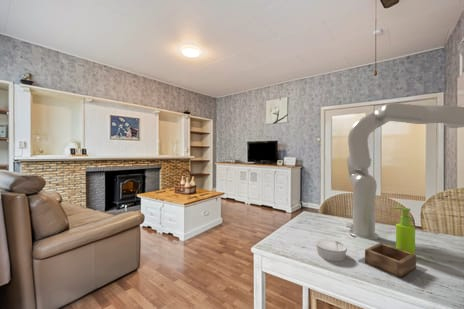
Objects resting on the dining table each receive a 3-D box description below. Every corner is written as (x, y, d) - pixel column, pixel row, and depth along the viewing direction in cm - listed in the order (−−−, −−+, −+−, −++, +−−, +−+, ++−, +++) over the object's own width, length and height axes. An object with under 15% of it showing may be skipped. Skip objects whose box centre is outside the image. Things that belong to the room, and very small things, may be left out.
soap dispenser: (393, 251, 89) (394, 205, 89) (415, 257, 84) (416, 208, 84) (391, 256, 85) (391, 207, 85) (413, 263, 80) (414, 211, 80)
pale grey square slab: (357, 263, 80) (357, 260, 80) (377, 253, 88) (377, 251, 88) (409, 286, 67) (409, 283, 67) (427, 272, 74) (427, 269, 74)
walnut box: (364, 262, 79) (365, 249, 79) (380, 255, 85) (380, 242, 84) (401, 278, 69) (401, 263, 69) (415, 268, 75) (416, 254, 75)
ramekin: (353, 263, 81) (353, 249, 81) (327, 266, 78) (327, 252, 78) (333, 249, 92) (333, 237, 91) (310, 252, 89) (310, 240, 89)
